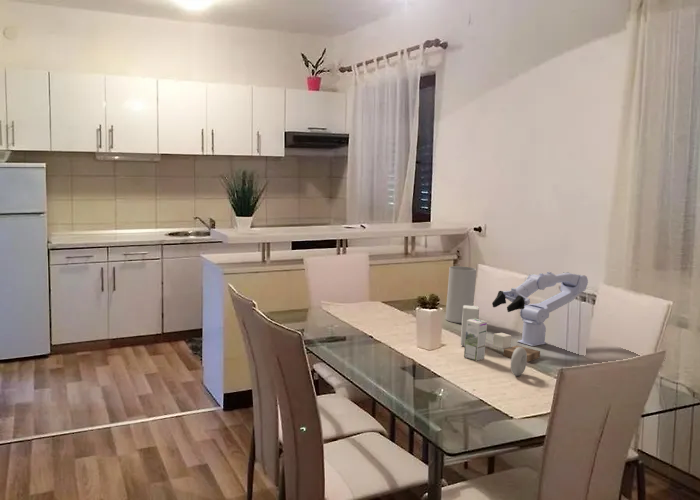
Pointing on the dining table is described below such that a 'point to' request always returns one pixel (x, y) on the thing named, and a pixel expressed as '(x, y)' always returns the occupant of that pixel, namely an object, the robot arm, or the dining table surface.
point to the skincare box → (468, 313)
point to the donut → (518, 361)
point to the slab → (530, 352)
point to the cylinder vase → (459, 291)
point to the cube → (502, 340)
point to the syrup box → (475, 339)
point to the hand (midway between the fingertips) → (500, 307)
